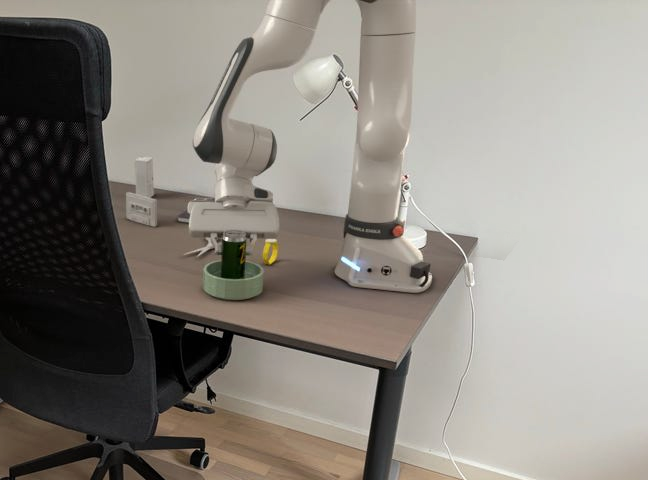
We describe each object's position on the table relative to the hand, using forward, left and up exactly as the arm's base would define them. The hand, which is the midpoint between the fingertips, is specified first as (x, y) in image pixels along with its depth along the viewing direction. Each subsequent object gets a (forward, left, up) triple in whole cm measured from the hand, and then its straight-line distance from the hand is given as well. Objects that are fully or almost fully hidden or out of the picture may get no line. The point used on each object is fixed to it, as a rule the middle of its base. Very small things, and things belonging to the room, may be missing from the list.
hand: (233, 254), depth 163 cm
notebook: (+25, -48, -9) cm, 54 cm away
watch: (-1, -21, -9) cm, 22 cm away
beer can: (0, 0, -7) cm, 7 cm away
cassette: (+44, -36, -9) cm, 57 cm away
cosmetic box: (+57, -61, -9) cm, 84 cm away
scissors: (+17, -24, -8) cm, 30 cm away
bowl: (0, 0, -8) cm, 8 cm away
